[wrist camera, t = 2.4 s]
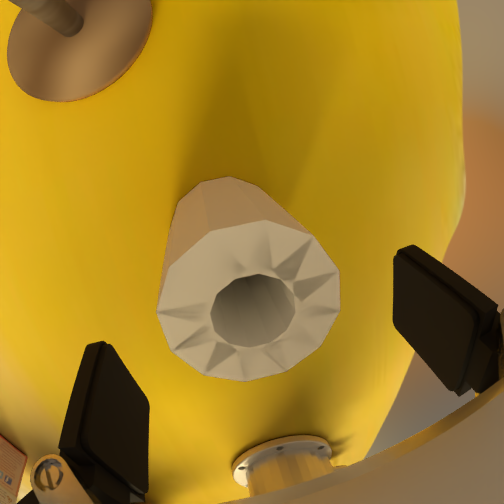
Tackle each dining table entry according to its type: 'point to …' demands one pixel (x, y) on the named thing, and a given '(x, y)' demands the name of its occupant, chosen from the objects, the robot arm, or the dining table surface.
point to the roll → (243, 284)
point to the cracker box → (10, 471)
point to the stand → (75, 45)
